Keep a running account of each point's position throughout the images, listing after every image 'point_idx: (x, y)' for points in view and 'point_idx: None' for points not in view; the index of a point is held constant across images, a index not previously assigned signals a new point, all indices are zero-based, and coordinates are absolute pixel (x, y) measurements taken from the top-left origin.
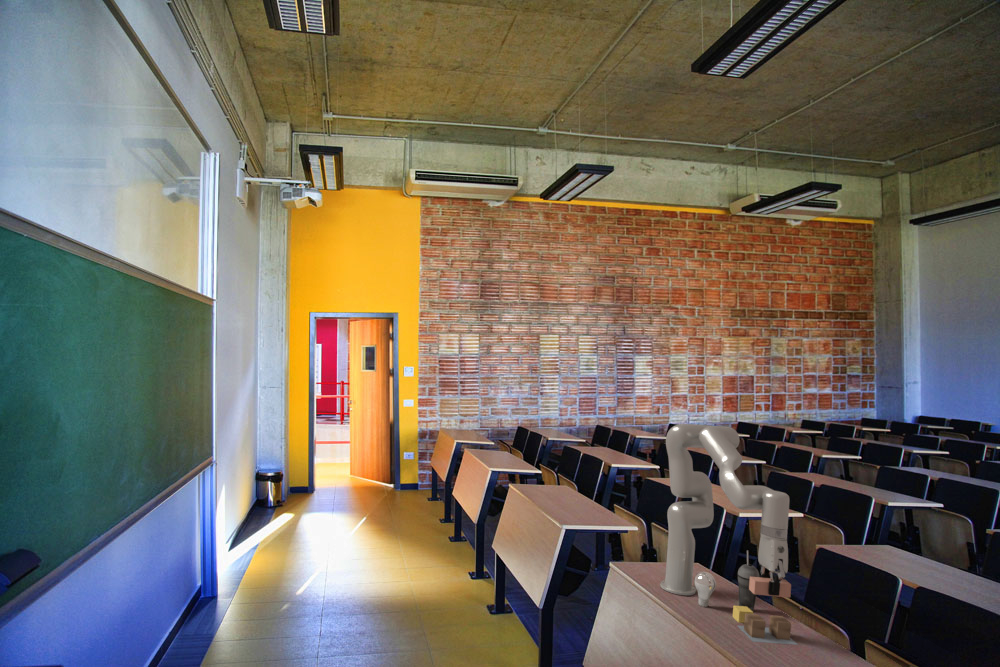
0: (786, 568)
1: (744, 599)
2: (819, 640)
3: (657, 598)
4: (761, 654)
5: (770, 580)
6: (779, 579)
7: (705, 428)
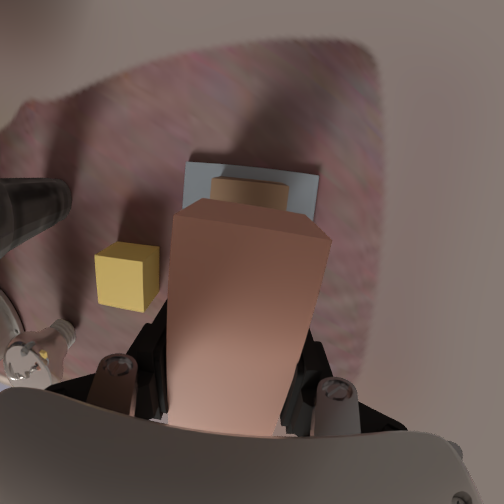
0: (463, 485)
1: (43, 227)
2: (258, 56)
3: None
4: (350, 327)
5: (230, 393)
6: (371, 425)
7: None
